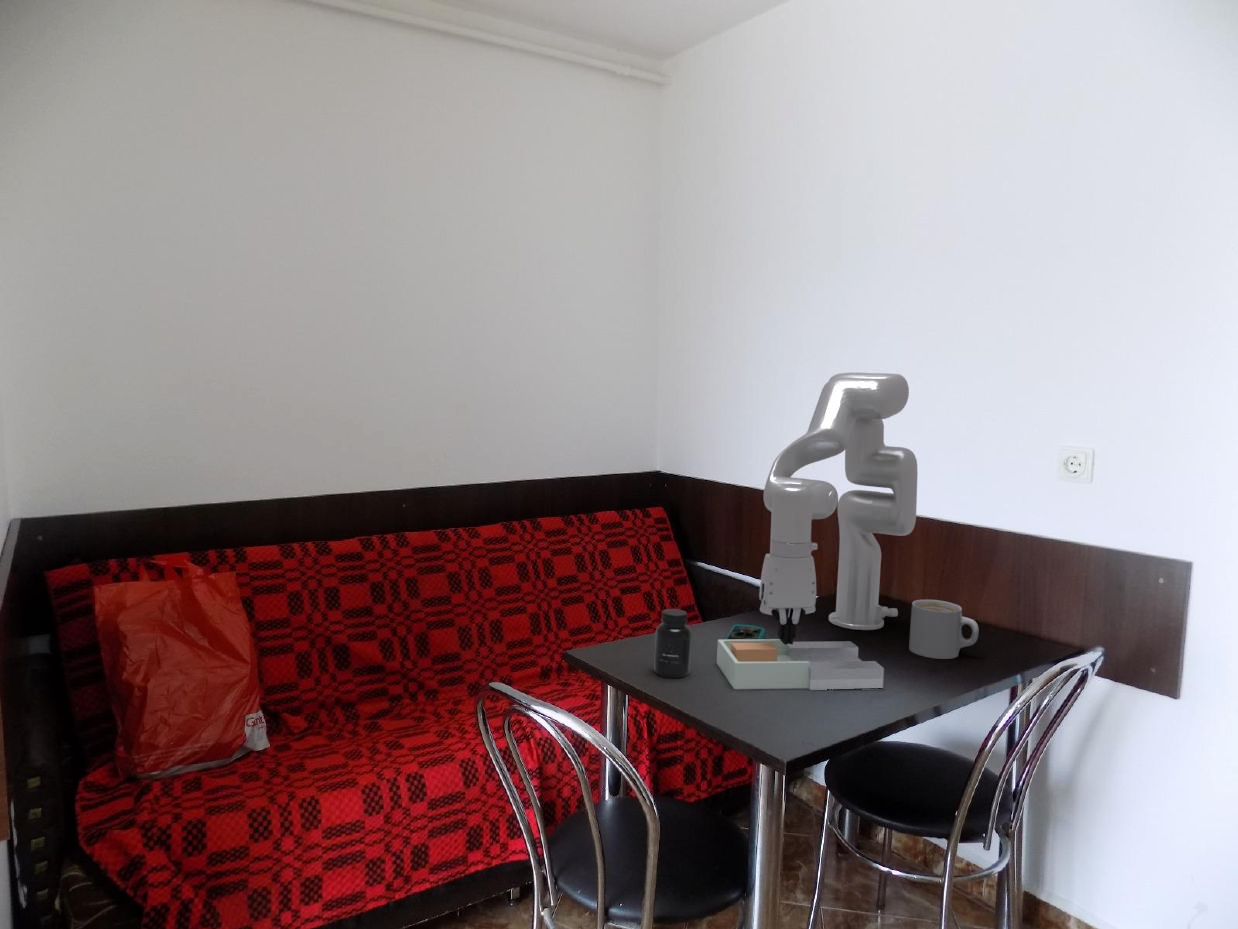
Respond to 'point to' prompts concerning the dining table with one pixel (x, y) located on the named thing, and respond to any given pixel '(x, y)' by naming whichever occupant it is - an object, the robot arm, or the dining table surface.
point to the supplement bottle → (672, 645)
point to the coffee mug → (939, 629)
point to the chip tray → (762, 668)
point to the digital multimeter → (746, 632)
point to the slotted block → (836, 665)
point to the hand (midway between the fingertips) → (786, 642)
